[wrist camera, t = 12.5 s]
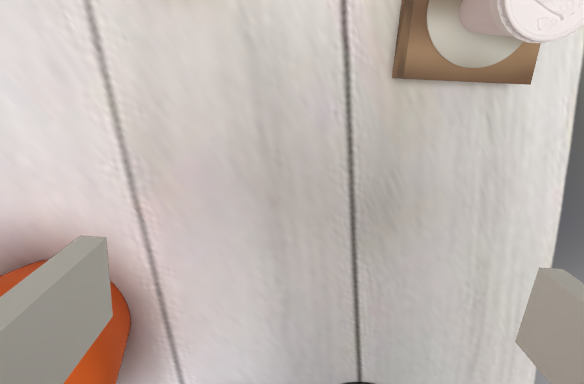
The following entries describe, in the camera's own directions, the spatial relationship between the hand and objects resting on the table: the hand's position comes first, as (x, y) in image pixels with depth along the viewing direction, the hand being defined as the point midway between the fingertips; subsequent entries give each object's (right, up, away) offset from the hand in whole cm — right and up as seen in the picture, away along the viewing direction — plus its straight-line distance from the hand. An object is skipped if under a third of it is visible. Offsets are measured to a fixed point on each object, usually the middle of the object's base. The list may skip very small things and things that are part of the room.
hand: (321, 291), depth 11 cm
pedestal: (+16, +20, +25) cm, 36 cm away
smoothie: (+16, +19, +21) cm, 32 cm away
